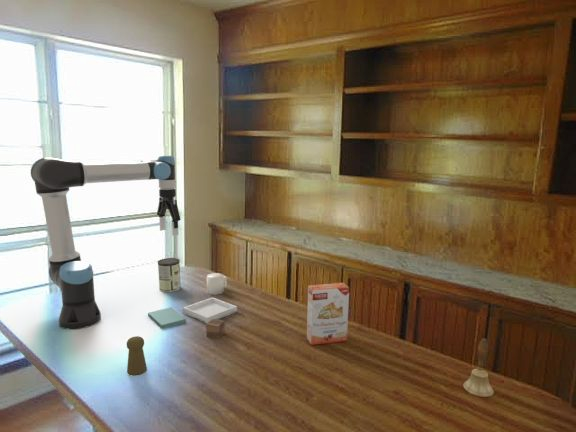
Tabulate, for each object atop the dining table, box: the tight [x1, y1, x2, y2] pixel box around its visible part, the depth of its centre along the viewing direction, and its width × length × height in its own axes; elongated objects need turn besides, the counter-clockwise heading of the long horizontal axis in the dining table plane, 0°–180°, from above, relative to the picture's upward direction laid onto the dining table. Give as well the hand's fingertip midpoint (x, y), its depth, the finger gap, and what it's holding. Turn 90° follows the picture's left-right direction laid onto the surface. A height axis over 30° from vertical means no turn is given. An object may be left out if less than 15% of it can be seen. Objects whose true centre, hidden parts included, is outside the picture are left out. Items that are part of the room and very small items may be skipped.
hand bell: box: [462, 337, 494, 398], centre depth 126 cm, size 8×8×16 cm
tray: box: [182, 296, 238, 324], centre depth 182 cm, size 16×16×2 cm
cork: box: [126, 335, 148, 377], centre depth 135 cm, size 6×6×11 cm
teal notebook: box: [147, 307, 187, 330], centre depth 175 cm, size 10×15×2 cm, turn 37°
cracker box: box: [306, 282, 350, 346], centre depth 156 cm, size 14×6×21 cm, turn 105°
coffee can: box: [157, 257, 181, 293], centre depth 210 cm, size 10×10×14 cm
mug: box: [206, 272, 228, 296], centre depth 207 cm, size 10×8×8 cm
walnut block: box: [205, 319, 226, 339], centre depth 161 cm, size 5×5×5 cm
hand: (168, 232), depth 207 cm, fingers open, 13 cm apart
